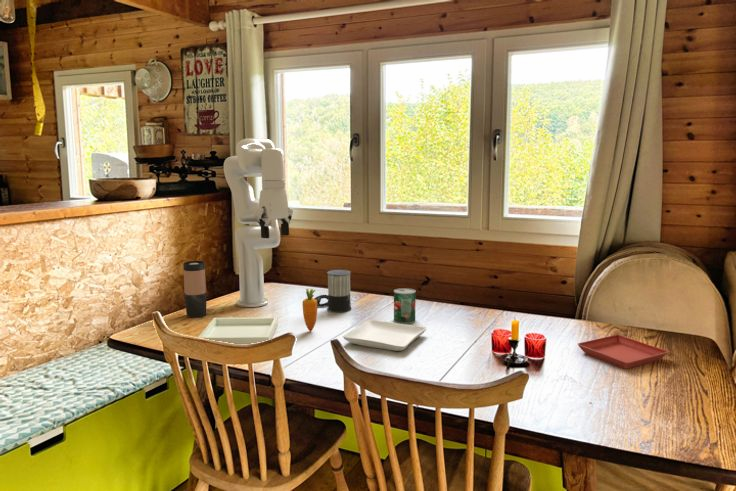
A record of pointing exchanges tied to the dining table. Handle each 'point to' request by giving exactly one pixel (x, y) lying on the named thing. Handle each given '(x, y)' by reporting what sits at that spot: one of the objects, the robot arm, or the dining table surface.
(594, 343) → the plant saucer
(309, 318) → the carrot
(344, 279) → the milk frother
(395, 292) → the canned tomato
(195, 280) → the travel mug
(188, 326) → the dining table surface
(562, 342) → the dining table surface
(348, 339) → the salad plate
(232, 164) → the robot arm
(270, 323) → the tray
